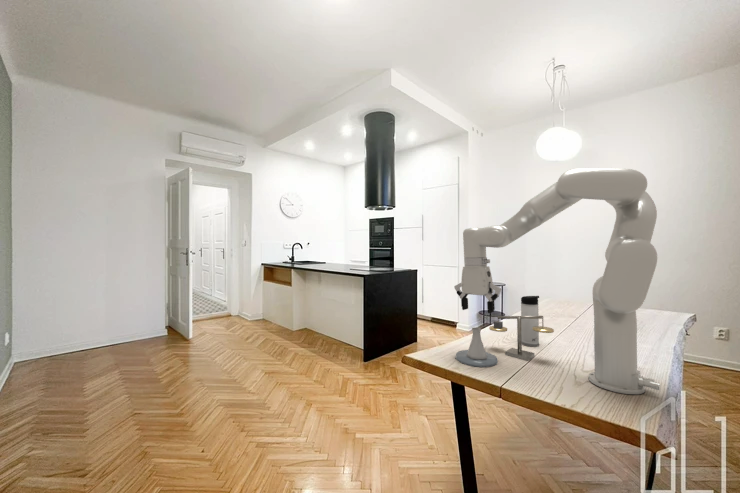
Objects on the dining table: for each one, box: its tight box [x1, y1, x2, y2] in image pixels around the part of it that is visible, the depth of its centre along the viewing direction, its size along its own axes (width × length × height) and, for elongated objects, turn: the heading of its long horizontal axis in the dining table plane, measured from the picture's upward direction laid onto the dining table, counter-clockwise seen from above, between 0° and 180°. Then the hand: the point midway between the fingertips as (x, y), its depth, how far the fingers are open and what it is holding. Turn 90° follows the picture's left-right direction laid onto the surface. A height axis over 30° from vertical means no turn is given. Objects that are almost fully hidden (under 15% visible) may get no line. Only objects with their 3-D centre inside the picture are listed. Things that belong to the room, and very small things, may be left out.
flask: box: [466, 327, 487, 360], centre depth 106 cm, size 7×7×10 cm
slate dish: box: [455, 349, 499, 368], centre depth 106 cm, size 14×14×1 cm
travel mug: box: [520, 295, 540, 348], centre depth 121 cm, size 6×7×20 cm
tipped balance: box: [488, 315, 555, 361], centre depth 109 cm, size 22×6×16 cm, turn 42°
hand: (477, 310), depth 105 cm, fingers open, 9 cm apart
